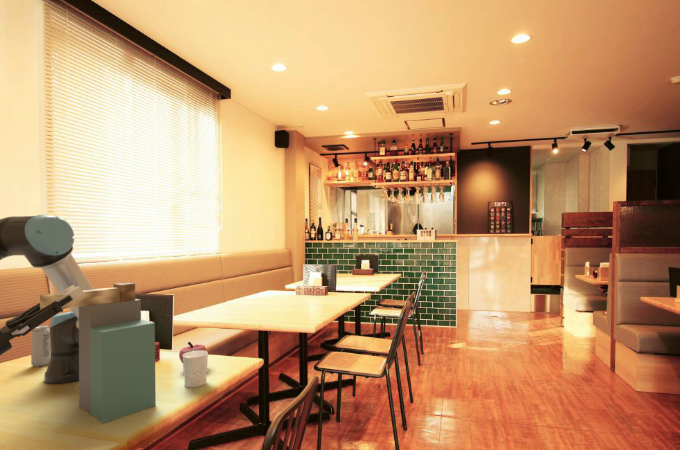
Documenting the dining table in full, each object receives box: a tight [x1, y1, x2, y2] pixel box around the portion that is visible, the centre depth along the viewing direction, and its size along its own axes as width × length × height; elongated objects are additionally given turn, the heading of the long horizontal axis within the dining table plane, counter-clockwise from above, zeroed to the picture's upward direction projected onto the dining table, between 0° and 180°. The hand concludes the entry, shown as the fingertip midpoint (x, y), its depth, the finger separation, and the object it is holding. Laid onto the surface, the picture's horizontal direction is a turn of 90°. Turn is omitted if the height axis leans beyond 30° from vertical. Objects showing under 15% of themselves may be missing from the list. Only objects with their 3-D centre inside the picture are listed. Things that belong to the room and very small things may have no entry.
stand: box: [78, 298, 157, 424], centre depth 118 cm, size 14×18×30 cm
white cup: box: [182, 350, 209, 388], centre depth 134 cm, size 8×8×10 cm
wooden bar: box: [39, 282, 136, 310], centre depth 117 cm, size 23×6×5 cm, turn 140°
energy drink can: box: [30, 325, 51, 368], centre depth 158 cm, size 6×6×15 cm
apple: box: [178, 341, 207, 364], centre depth 149 cm, size 10×9×10 cm
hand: (78, 289), depth 115 cm, fingers closed on wooden bar, 4 cm apart
